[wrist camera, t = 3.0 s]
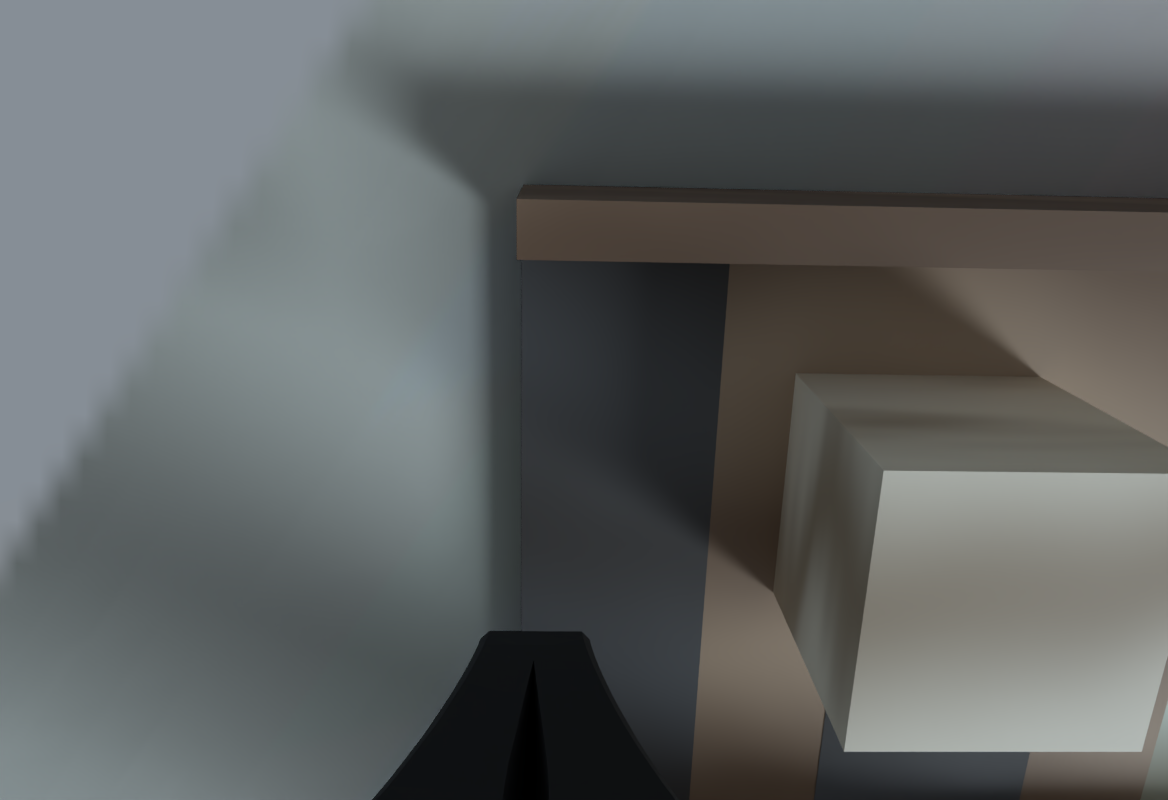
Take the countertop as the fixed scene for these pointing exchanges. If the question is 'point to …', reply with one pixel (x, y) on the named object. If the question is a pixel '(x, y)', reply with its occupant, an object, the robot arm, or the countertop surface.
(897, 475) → the cream cube
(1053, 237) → the wooden tray
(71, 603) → the countertop surface
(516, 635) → the robot arm
